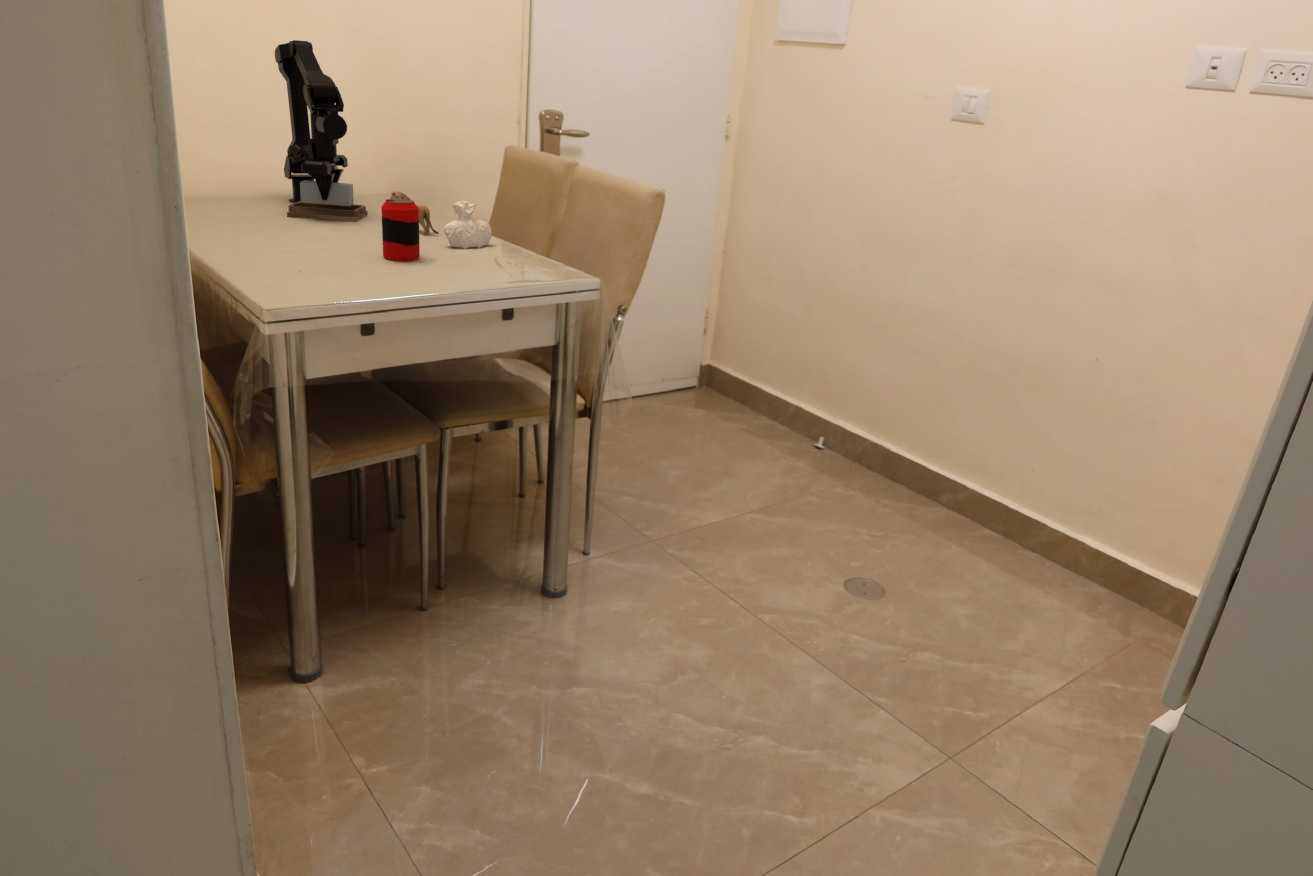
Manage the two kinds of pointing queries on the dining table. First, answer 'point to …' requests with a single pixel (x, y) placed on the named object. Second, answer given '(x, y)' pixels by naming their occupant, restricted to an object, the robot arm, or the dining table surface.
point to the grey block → (337, 194)
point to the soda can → (400, 230)
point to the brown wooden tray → (327, 211)
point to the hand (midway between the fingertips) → (327, 198)
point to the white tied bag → (467, 228)
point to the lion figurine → (423, 213)
